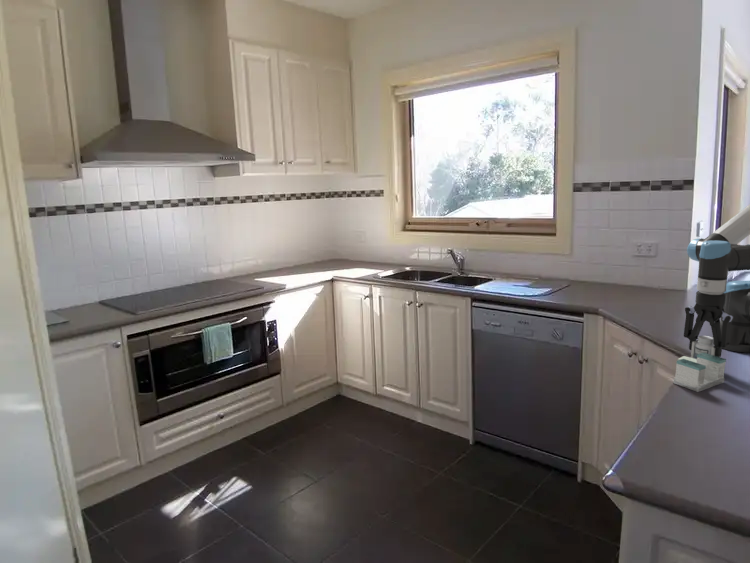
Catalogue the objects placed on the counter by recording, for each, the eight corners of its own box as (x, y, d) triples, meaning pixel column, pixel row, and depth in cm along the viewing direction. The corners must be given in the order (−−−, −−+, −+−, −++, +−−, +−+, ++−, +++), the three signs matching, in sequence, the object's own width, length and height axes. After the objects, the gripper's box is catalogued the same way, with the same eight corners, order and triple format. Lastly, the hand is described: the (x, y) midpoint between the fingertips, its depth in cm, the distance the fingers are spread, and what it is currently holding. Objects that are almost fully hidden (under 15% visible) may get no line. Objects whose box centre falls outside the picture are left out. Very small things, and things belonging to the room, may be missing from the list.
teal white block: (699, 374, 158) (702, 352, 157) (724, 382, 152) (727, 359, 151) (673, 383, 152) (675, 360, 151) (697, 392, 146) (700, 368, 145)
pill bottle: (706, 360, 167) (709, 334, 165) (717, 367, 162) (720, 339, 160) (689, 361, 166) (692, 335, 165) (700, 367, 161) (703, 340, 159)
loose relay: (682, 367, 164) (683, 355, 163) (699, 372, 160) (701, 360, 159) (676, 371, 162) (677, 358, 161) (694, 375, 158) (695, 363, 157)
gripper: (674, 288, 165) (668, 357, 170) (736, 299, 149) (727, 375, 154) (688, 284, 168) (682, 352, 174) (750, 295, 153) (741, 370, 158)
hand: (703, 363), depth 164 cm, fingers closed on pill bottle, 5 cm apart
